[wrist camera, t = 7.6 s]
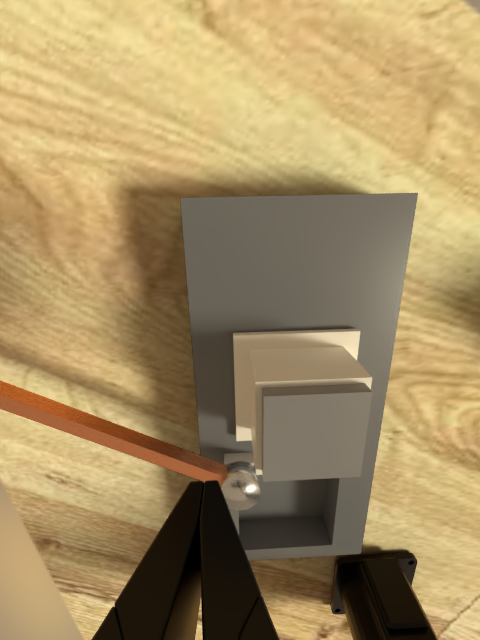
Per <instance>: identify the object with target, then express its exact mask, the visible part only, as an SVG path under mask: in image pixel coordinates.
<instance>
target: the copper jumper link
mask: <svg viewBox="0 0 480 640" xmlns="http://www.w3.org/2000/svg"><path fill="white" fill-rule="evenodd" d="M0 409H2V410H5V411H8V412H11V413H14V414H16V415H19V416H22V417H25V418H28V419H30V420H33V421H36V422H39V423H42V424H44V425H47V426H50V427H53V428H56V429H58V430H61V431H64V432H67V433H70V434H72V435H75V436H78V437H81V438H83V439H86V440H89V441H92V442H95V443H97V444H100V445H103V446H106V447H109V448H111V449H114V450H117V451H120V452H123V453H125V454H128V455H131V456H134V457H137V458H139V459H142V460H145V461H148V462H151V463H153V464H156V465H159V466H162V467H165V468H167V469H170V470H173V471H176V472H179V473H181V474H184V475H187V476H190V477H193V478H195V479H198V480H201V481H204V482H205V481H208V480H218V482H219V484H220V486H221V489H222V492H223V494H224V497H225V500H226V502H227V505H228V508H230V509H233V510H246V509H249V508H251V507H253V506H254V505H256V504H257V502H258V501H259V499H260V487H259V479H258V475H256V472H255V467H254V466H253V465H252V464H250V463H248V462H244V461H236V462H233V463H230V464H228V465H224V464H222V463H219V462H216V461H214V460H211V459H208V458H206V457H203V456H200V455H198V454H195V453H192V452H190V451H187V450H184V449H182V448H179V447H176V446H174V445H171V444H168V443H166V442H163V441H160V440H158V439H155V438H152V437H150V436H147V435H144V434H142V433H139V432H136V431H134V430H131V429H128V428H126V427H123V426H120V425H118V424H115V423H112V422H110V421H107V420H104V419H102V418H99V417H96V416H94V415H91V414H88V413H86V412H83V411H80V410H78V409H75V408H72V407H70V406H67V405H64V404H62V403H59V402H56V401H54V400H51V399H48V398H46V397H43V396H40V395H38V394H35V393H32V392H30V391H27V390H24V389H22V388H19V387H16V386H13V385H11V384H8V383H5V382H3V381H0Z"/></svg>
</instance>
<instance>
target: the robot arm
mask: <svg viewBox="0 0 480 640" xmlns="http://www.w3.org/2000/svg"><path fill="white" fill-rule="evenodd" d="M416 565H417V559H416V558H415V556H414V554H412V553H402V554H386V555H370V556H354V557H341V558H338V559H337V560H336V563H335V571H334V580H333V588H332V596H331V604H330V606H331V610H332V613H333V614H346V617H347V621H348V624H349V627H350V630H351V634H352V637H353V640H438V638H437V636H436V634H435V632H434V630H433V628H432V626H431V624H430V622H429V620H428V618H427V616H426V614H425V612H424V610H423V608H422V606H421V604H420V602H419V600H418V598H417V596H416V595H415V593H414V591H413V589H412V587H411V585H412V581H413V577H414V573H415V569H416ZM200 598H201V600H202V631H203V640H280V639H279V637H278V635H277V632H276V630H275V627H274V625H273V622H272V620H271V618H270V615H269V613H268V610H267V607H266V605H265V602H264V600H263V597H262V596H261V592H260V589H259V587H258V584H257V581H256V579H255V576H254V574H253V571H252V568H251V566H250V563H249V560H248V558H247V555H246V552H245V550H244V547H243V545H242V542H241V539H240V537H239V534H238V531H237V529H236V526H235V523H234V521H233V518H232V516H231V513H230V510H229V508H228V505H227V502H226V500H225V497H224V494H223V492H222V489H221V486H220V484H219V482H218V480H208V481H205V482H203V481H193V482H190V483H189V484H188V486H187V488H186V489H185V491H184V492H183V494H182V496H181V497H180V499H179V501H178V502H177V504H176V505H175V507H174V509H173V510H172V512H171V513H170V515H169V517H168V518H167V520H166V521H165V523H164V525H163V526H162V528H161V530H160V531H159V533H158V534H157V536H156V538H155V539H154V541H153V542H152V544H151V546H150V547H149V549H148V550H147V552H146V554H145V555H144V557H143V559H142V560H141V562H140V563H139V565H138V567H137V568H136V570H135V571H134V573H133V575H132V576H131V578H130V579H129V581H128V583H127V584H126V586H125V588H124V589H123V591H122V592H121V594H120V596H119V597H118V599H117V600H116V602H115V607H112V608H111V610H110V611H109V613H108V615H107V616H106V618H105V619H104V621H103V623H102V624H101V626H100V628H99V629H98V631H97V632H96V634H95V635H94V637H93V638H92V640H195V634H196V627H197V620H198V612H199V605H200Z"/></svg>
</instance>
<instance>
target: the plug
mask: <svg viewBox="0 0 480 640" xmlns="http://www.w3.org/2000/svg"><path fill="white" fill-rule="evenodd" d="M359 340H360V330H359V329H331V330H303V331H275V332H247V333H233V347H234V380H235V412H236V441H251V440H252V446H253V455H254V464H255V472H256V475H262V476H263V482H272V481H291V480H309V479H328V478H347V477H361V470H362V463H363V456H364V449H365V442H366V435H367V428H368V421H369V413H370V406H371V399H372V391H371V384H372V376H371V375H370V374H369V373H368V372H367V371H366V370H365V369H364V368H363V367H362V366H361V365H360V364H359V363H358V361H357V357H358V348H359Z"/></svg>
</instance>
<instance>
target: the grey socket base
mask: <svg viewBox="0 0 480 640" xmlns="http://www.w3.org/2000/svg"><path fill="white" fill-rule="evenodd" d="M417 196H418V193H392V194H341V195H289V196H238V197H187V198H180V202H181V214H182V227H183V239H184V252H185V264H186V277H187V289H188V302H189V314H190V327H191V339H192V352H193V364H194V377H195V390H196V402H197V415H198V427H199V440H200V452H201V456H203V457H206V458H208V459H211V460H214V461H216V462H219V463H222V464H224V465H228V464H230V463H233V462H236V461H244V462H248V463H250V464H252V465H253V466H254V467H255V464H254V455H253V446H252V440H251V441H236V412H235V380H234V347H233V333H247V332H275V331H303V330H331V329H359V330H360V340H359V348H358V357H357V361H358V363H359V364H360V365H361V366H362V367H363V368H364V369H365V370H366V371H367V372H368V373H369V374H370V375H371V376H372V384H371V391H372V399H371V406H370V413H369V421H368V428H367V435H366V442H365V449H364V456H363V463H362V470H361V477H347V478H328V479H309V480H291V481H272V482H263V476H262V475H258V479H259V487H260V499H259V501H258V502H257V504H256V505H254V506H253V507H251V508H249V509H246V510H233V509H230V508H229V510H230V513H231V516H232V518H233V521H234V523H235V526H236V529H237V531H238V534H239V537H240V539H241V542H242V545H243V547H244V550H245V552H246V555H247V558H248V560H249V561H254V560H270V559H286V558H302V557H318V556H334V555H350V554H361V549H362V543H363V537H364V531H365V524H366V518H367V512H368V505H369V499H370V493H371V486H372V480H373V474H374V467H375V461H376V455H377V449H378V442H379V436H380V430H381V423H382V417H383V411H384V404H385V398H386V392H387V385H388V379H389V373H390V366H391V360H392V354H393V348H394V341H395V335H396V329H397V322H398V316H399V310H400V303H401V297H402V291H403V284H404V278H405V272H406V266H407V259H408V253H409V247H410V240H411V234H412V228H413V221H414V215H415V209H416V202H417ZM203 482H204V481H203Z"/></svg>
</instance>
